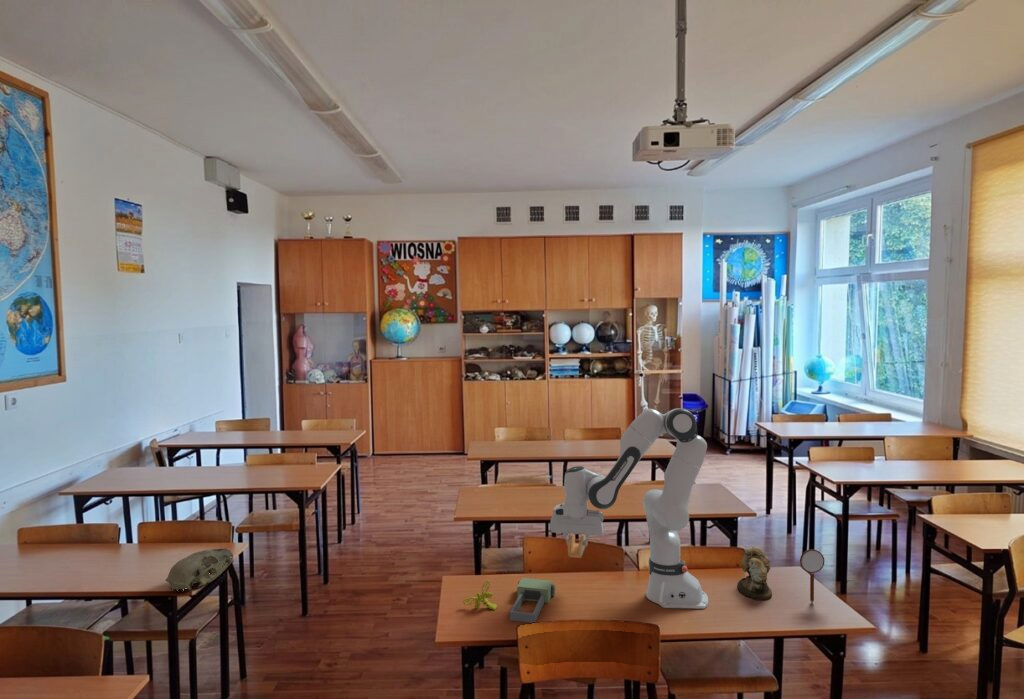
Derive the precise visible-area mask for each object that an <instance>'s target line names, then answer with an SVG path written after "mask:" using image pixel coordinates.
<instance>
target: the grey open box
mask: <svg viewBox="0 0 1024 699" xmlns="http://www.w3.org/2000/svg"><path fill="white" fill-rule="evenodd" d="M555 595H556V585H555V584H553V580H548V579H538V578H537V579H536V578H528V577H521V579H520V581H518V584H517V586H516V600H515V602H514V604H513V605H512V607H511V609H510V611H509V621H512V622H513V621H514V622H521V623H531V624H533V623H532V622H535V623H536V622H537V619H538V617H539V616H540V613H541V611H542V608H543V607H544V605H545V603H547V604H549V602H550V600H551V598H552V597H554V596H555ZM526 600H527V602H535V601H537V602H536V605H535V607H534V610H533V612H526V611H519V610H520V608H521V605H522V604H523V602H524V601H526ZM544 602H545V603H544Z"/></svg>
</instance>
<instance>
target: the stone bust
mask: <svg viewBox="0 0 1024 699" xmlns="http://www.w3.org/2000/svg"><path fill="white" fill-rule="evenodd" d="M740 564H741V568H742V571H743V572H745V573H747V574H748V575H746V576H745V577H743V578H741V579H740V580H739V581H738V582H737V589H738V591H739V592H740V593H741V595H743V596H745V597H747V598H750V599H752V600H755V601H767V600H771V599H772V597H773V592H772V589H771V588H770V587H769V585H768V582H767V581H768V574H769V572H770V570H771V560H770V558H769V557H768V556H767V554H766V552H765V550H764V549H763V548H761V547H759V546H752V547H751V546H749V547H746V548H745V549H744V556H743V558H742V559H741V563H740Z"/></svg>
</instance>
